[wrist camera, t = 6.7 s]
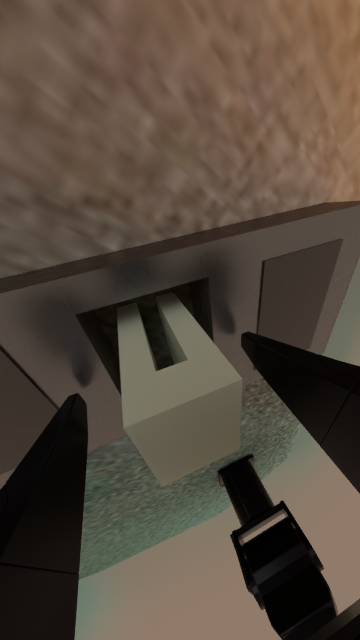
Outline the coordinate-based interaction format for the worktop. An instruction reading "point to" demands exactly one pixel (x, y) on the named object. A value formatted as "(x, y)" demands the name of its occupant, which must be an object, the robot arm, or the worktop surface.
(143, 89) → the worktop surface
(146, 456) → the beige slotted block
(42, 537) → the robot arm
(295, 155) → the worktop surface
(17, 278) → the grey slotted tray
